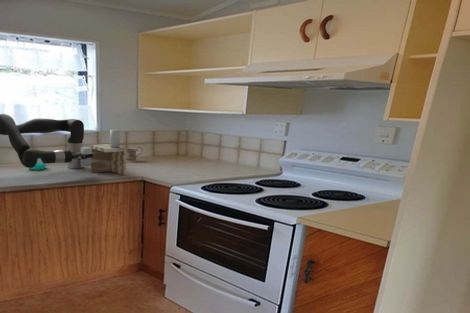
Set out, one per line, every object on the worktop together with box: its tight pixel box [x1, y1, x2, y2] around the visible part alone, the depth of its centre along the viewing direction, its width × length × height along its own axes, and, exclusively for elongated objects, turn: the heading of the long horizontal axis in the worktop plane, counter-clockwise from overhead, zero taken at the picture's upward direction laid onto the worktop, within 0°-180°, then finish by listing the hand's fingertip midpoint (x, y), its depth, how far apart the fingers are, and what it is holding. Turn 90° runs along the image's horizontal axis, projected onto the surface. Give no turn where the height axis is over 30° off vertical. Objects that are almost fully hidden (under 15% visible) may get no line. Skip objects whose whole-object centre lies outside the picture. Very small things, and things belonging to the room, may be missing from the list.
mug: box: [126, 146, 144, 164], centre depth 264 cm, size 14×10×12 cm
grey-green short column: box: [81, 146, 92, 167], centre depth 204 cm, size 6×6×11 cm
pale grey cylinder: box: [109, 129, 121, 148], centre depth 211 cm, size 6×6×11 cm
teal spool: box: [29, 158, 47, 171], centre depth 218 cm, size 10×10×10 cm
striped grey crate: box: [89, 143, 127, 176], centre depth 215 cm, size 20×14×18 cm
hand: (90, 154), depth 205 cm, fingers closed on grey-green short column, 6 cm apart
